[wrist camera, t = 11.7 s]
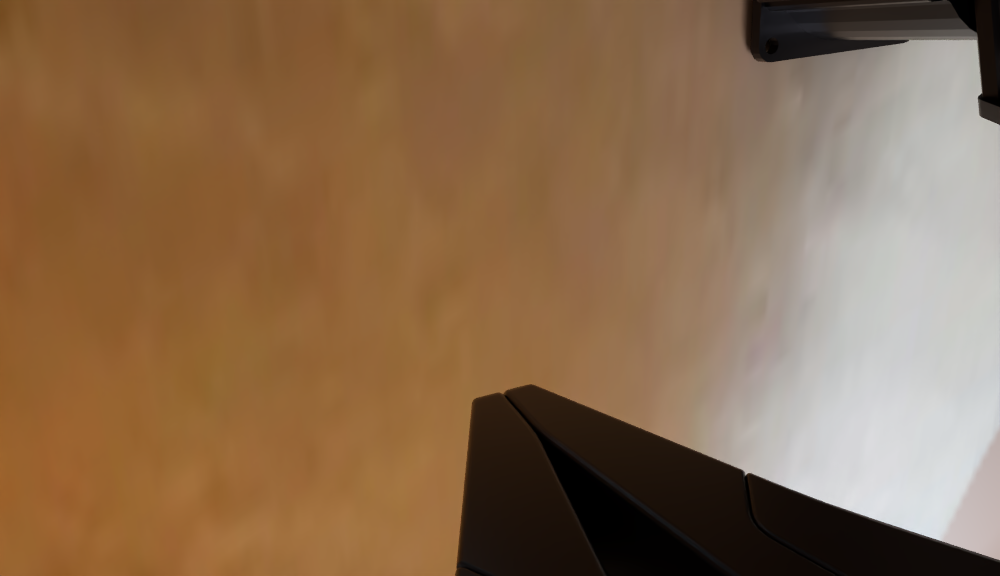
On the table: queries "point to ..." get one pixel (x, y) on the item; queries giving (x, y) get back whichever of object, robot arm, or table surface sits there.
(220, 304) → the table surface
